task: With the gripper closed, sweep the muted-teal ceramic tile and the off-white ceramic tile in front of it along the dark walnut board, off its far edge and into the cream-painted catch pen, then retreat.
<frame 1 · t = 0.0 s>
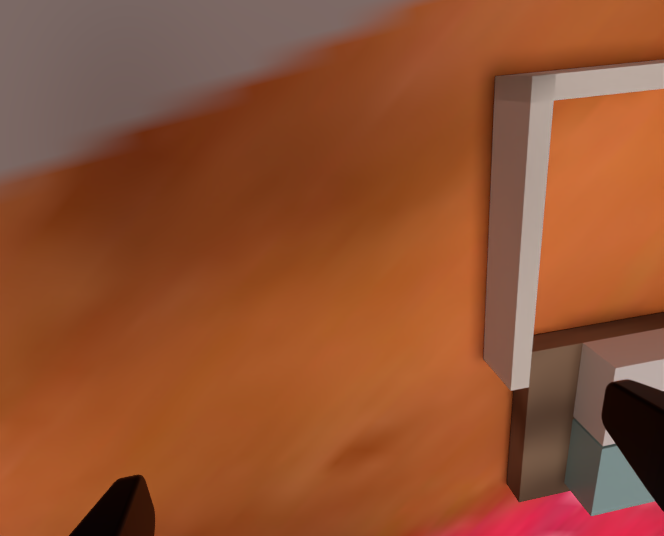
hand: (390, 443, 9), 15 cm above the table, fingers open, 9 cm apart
catch pen: (621, 215, 25), on the table
board: (593, 399, 30), on the table
teal tile: (605, 443, 29), point 1 cm above the table, touching board
white tile: (617, 373, 27), point 1 cm above the table, touching board
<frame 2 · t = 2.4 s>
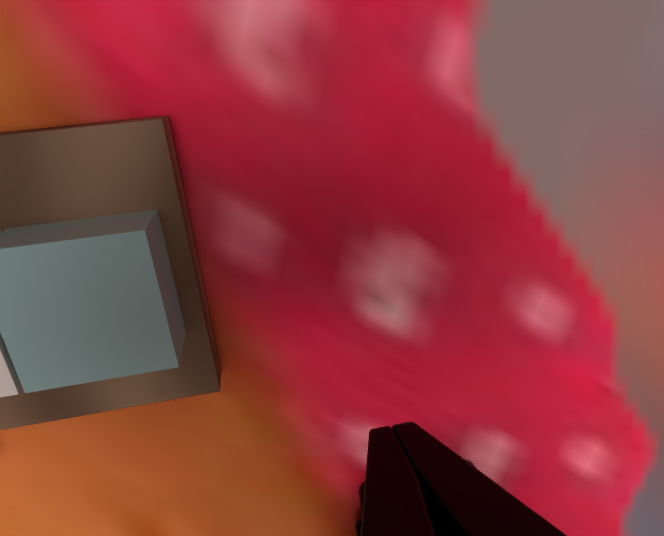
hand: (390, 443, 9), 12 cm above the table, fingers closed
board: (53, 277, 19), on the table
teal tile: (102, 284, 18), point 1 cm above the table, touching board
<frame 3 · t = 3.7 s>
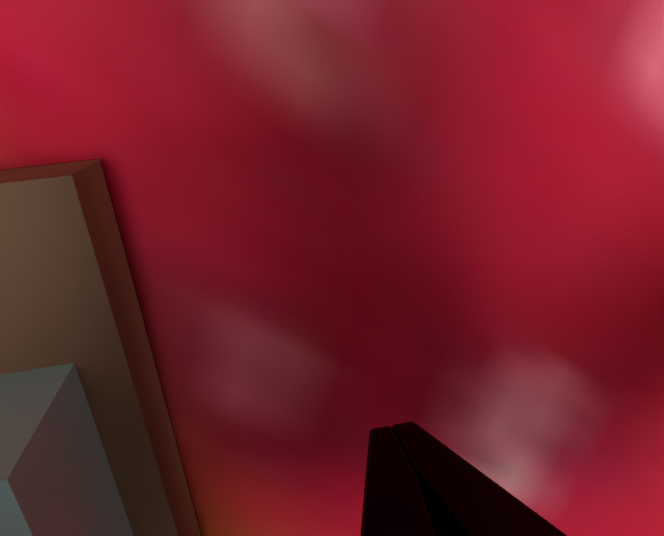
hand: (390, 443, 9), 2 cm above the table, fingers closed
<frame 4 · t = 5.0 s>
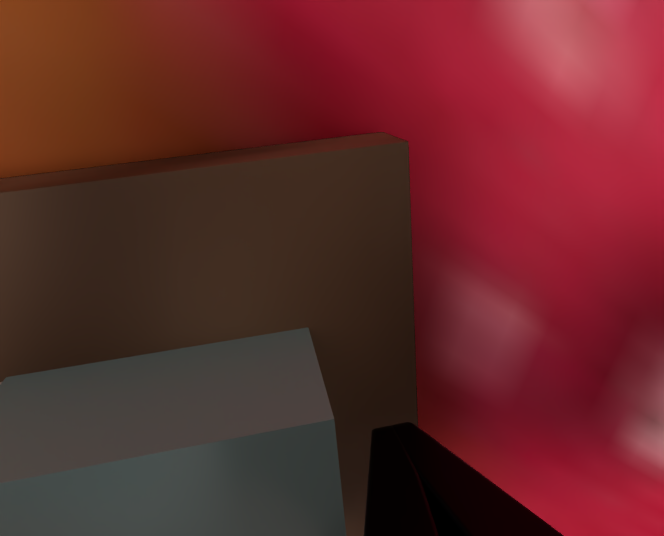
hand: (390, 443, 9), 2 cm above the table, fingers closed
board: (150, 423, 10), on the table
teal tile: (192, 463, 9), point 2 cm above the table, touching board, gripper, white tile
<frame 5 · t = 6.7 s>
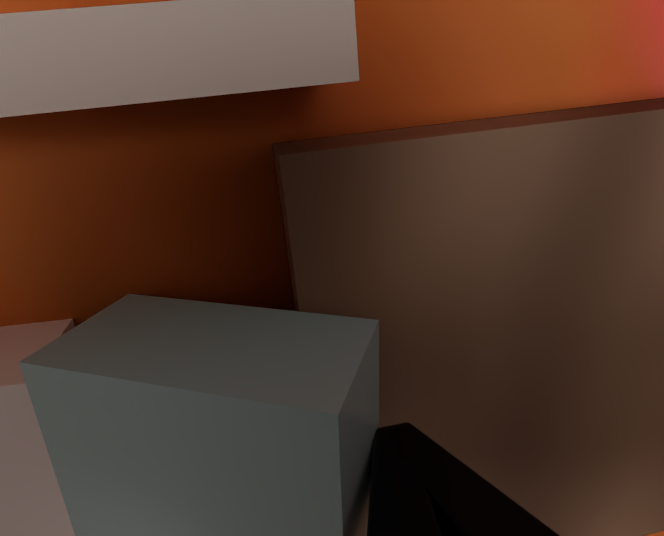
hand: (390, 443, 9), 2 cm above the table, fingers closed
board: (528, 347, 12), on the table
teal tile: (256, 417, 10), point 1 cm above the table, tilted 27°, touching gripper
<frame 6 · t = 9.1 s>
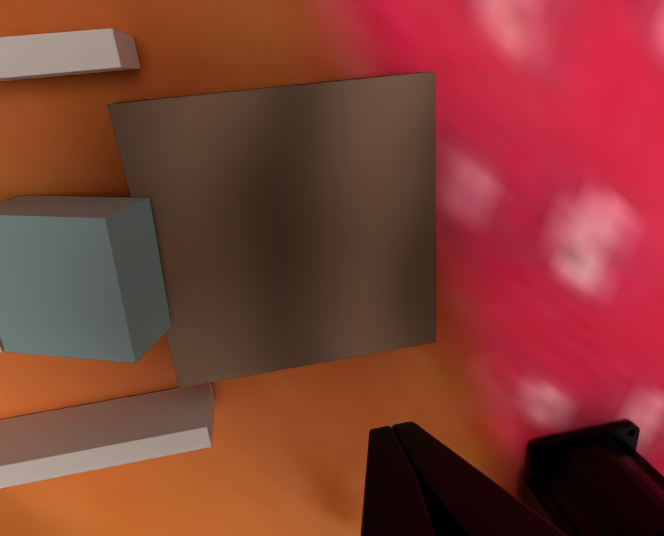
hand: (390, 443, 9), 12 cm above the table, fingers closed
board: (293, 230, 20), on the table
teal tile: (98, 262, 18), point 1 cm above the table, tilted 20°, touching board
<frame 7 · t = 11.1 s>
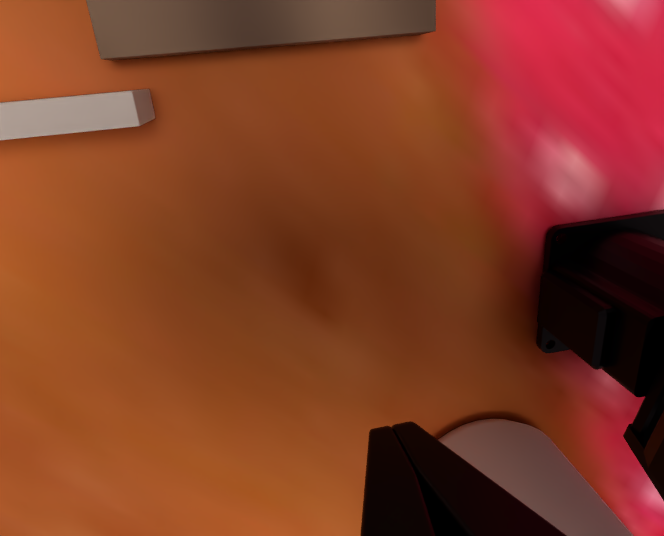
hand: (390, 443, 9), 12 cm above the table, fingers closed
alcohol: (475, 472, 27), on the table
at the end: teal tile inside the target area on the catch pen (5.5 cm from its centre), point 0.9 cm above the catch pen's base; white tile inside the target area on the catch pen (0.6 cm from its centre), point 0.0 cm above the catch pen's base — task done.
